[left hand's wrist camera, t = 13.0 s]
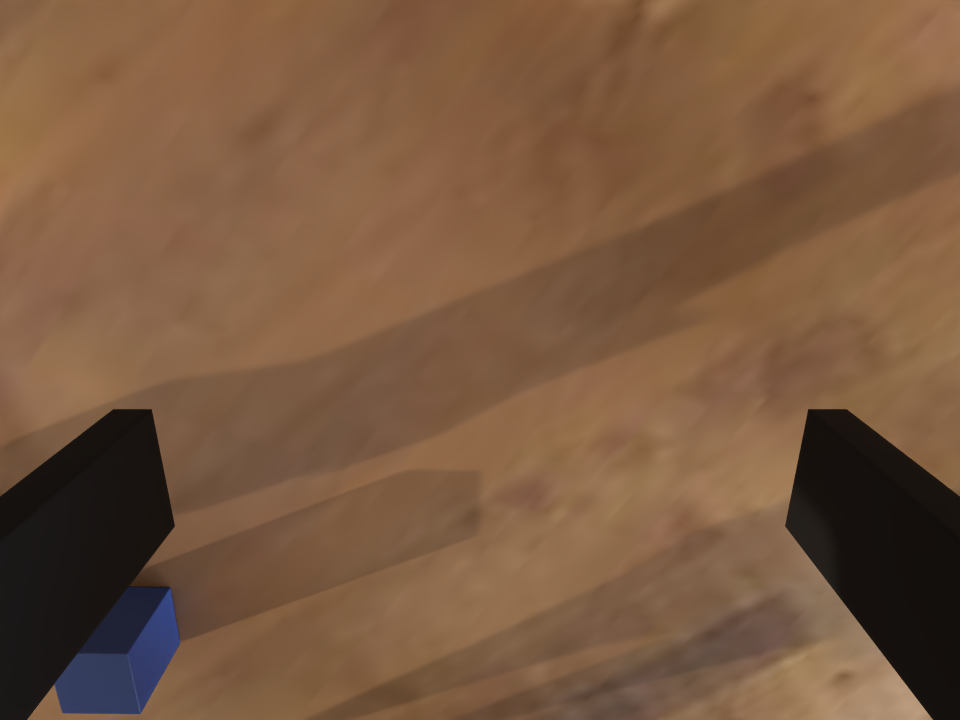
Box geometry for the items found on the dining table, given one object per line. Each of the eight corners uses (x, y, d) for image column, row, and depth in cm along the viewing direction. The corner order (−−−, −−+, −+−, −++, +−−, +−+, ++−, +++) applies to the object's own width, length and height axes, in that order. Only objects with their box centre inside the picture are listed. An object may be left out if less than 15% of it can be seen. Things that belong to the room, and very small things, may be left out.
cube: (98, 585, 37) (44, 652, 32) (170, 586, 37) (127, 653, 32) (111, 642, 38) (61, 713, 33) (180, 643, 38) (140, 714, 34)
